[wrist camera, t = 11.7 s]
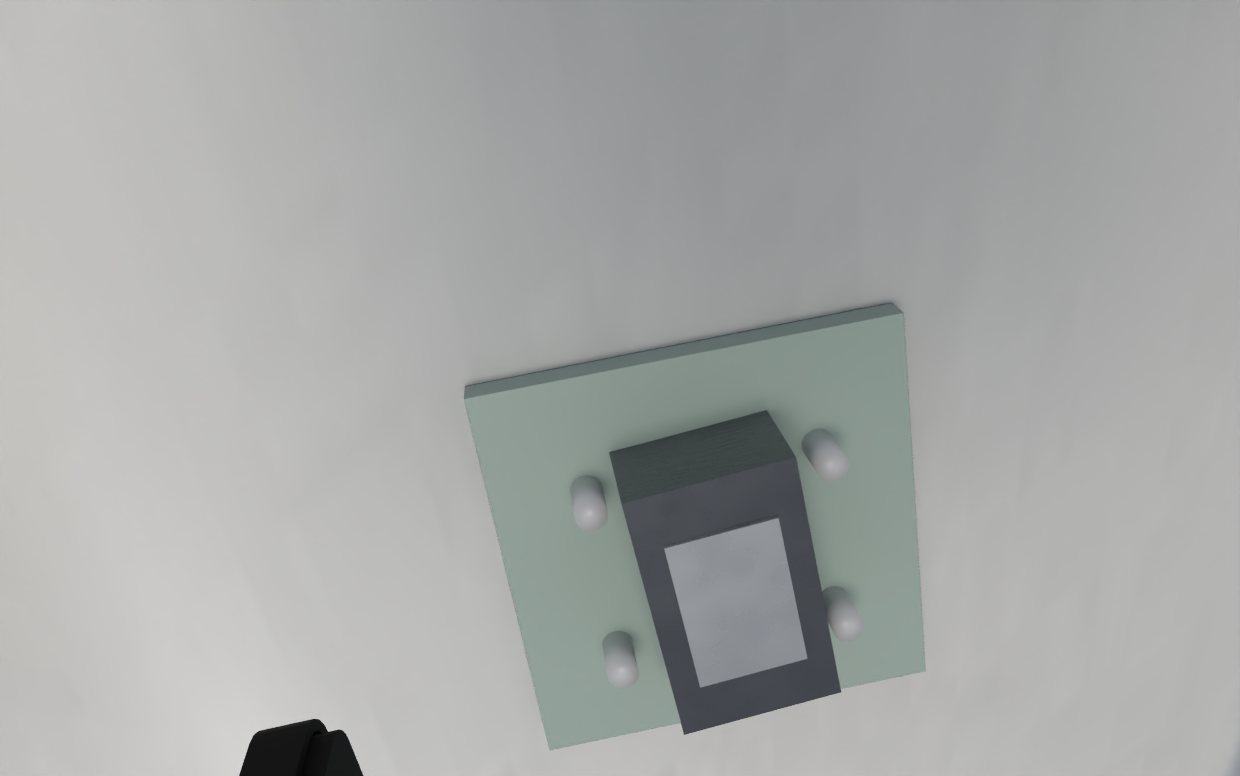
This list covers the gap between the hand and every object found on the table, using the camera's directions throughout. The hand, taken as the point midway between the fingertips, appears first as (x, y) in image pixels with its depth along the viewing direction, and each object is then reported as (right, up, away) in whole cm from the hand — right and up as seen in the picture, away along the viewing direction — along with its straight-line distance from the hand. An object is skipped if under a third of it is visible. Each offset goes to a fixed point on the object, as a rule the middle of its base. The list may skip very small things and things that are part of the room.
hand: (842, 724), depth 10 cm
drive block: (+2, -3, +30) cm, 30 cm away
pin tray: (+1, -2, +31) cm, 31 cm away
